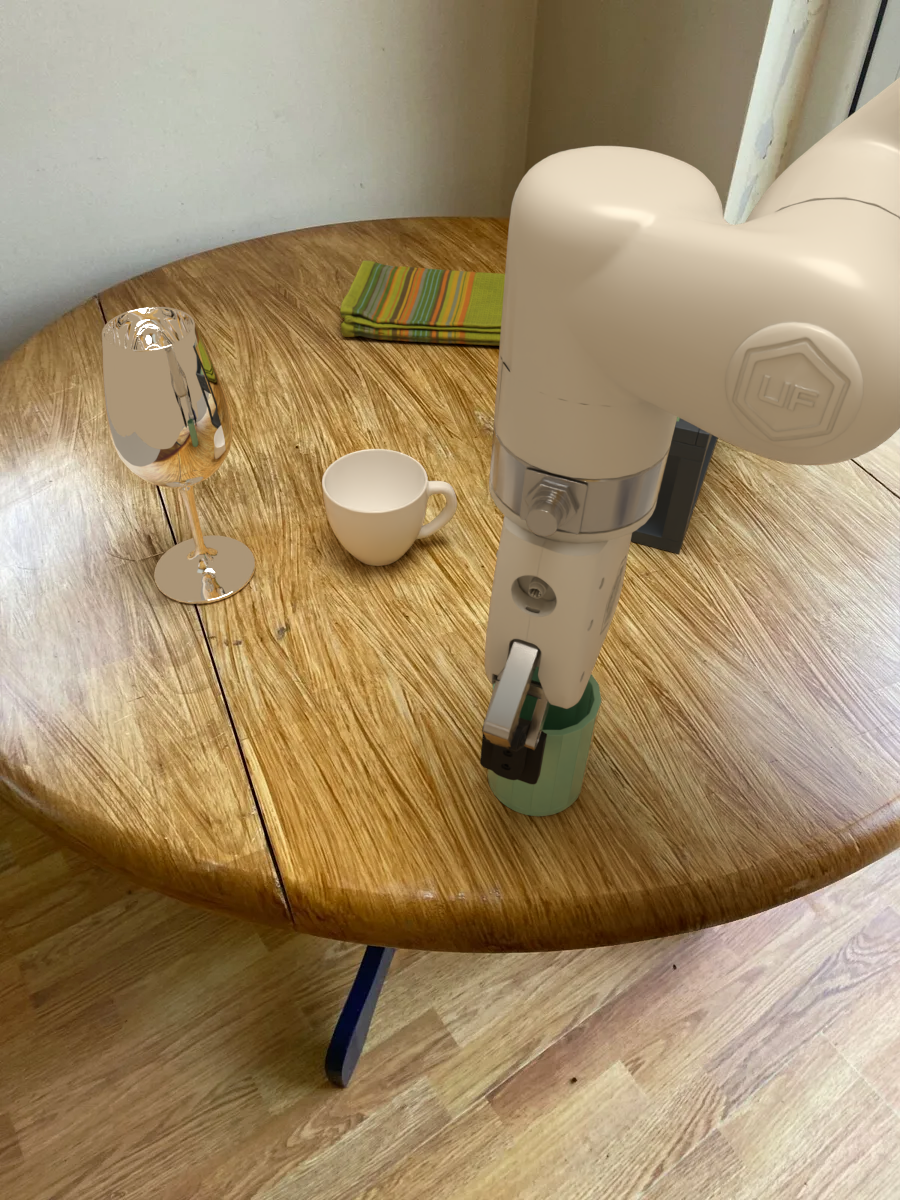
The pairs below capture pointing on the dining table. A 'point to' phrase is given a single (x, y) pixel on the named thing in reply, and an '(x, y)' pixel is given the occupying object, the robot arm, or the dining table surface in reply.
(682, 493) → the tray
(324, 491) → the cup
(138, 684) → the dining table surface
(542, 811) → the tumbler
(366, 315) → the dish towel
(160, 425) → the wineglass
